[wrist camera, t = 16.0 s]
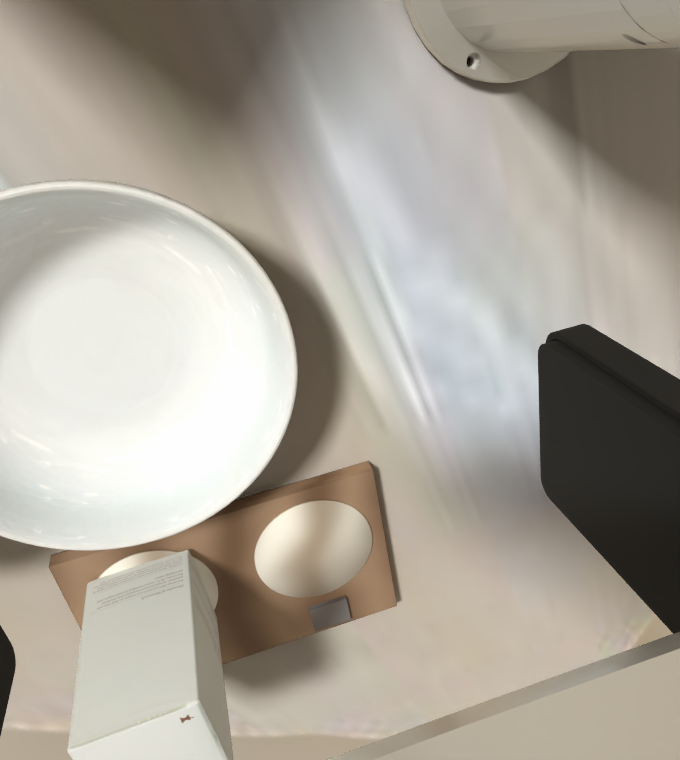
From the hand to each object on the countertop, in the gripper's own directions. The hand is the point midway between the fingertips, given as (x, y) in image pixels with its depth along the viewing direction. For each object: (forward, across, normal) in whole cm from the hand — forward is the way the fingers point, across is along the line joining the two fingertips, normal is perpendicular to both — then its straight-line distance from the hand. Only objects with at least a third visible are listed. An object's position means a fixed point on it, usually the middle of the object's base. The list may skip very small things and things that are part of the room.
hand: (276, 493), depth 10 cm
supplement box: (+29, +10, +27) cm, 41 cm away
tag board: (+30, +4, +29) cm, 42 cm away
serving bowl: (+31, +7, +8) cm, 32 cm away
